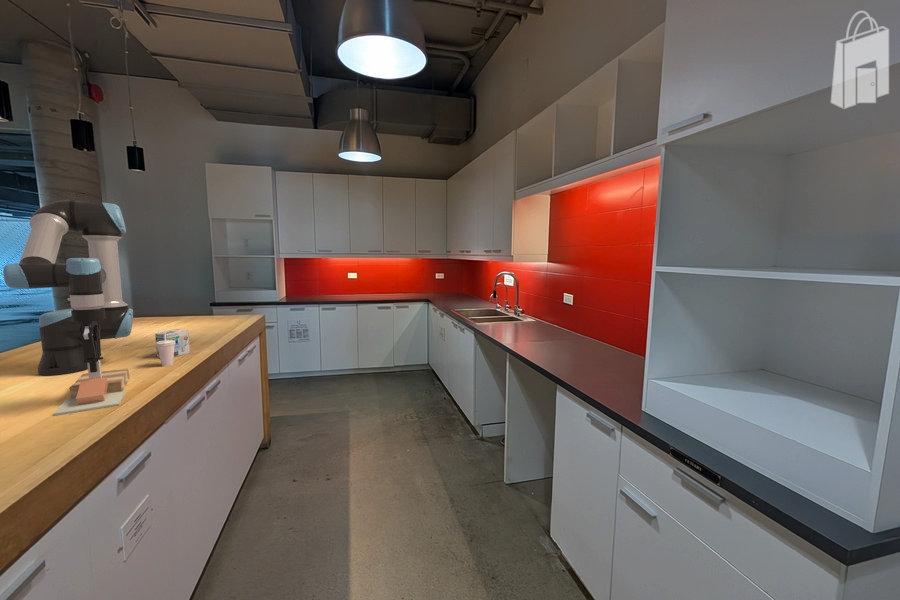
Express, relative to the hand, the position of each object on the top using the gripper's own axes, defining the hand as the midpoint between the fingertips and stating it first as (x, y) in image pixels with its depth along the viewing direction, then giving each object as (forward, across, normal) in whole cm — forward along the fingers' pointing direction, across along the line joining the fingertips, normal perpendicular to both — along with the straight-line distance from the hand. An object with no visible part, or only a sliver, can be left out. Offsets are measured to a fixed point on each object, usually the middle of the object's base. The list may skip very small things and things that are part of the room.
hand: (95, 381), depth 119 cm
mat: (+5, +6, 0) cm, 8 cm away
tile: (+3, +4, 0) cm, 5 cm away
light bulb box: (+5, -46, +18) cm, 49 cm away
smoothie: (+5, -30, +16) cm, 34 cm away
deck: (+5, -8, 0) cm, 9 cm away
